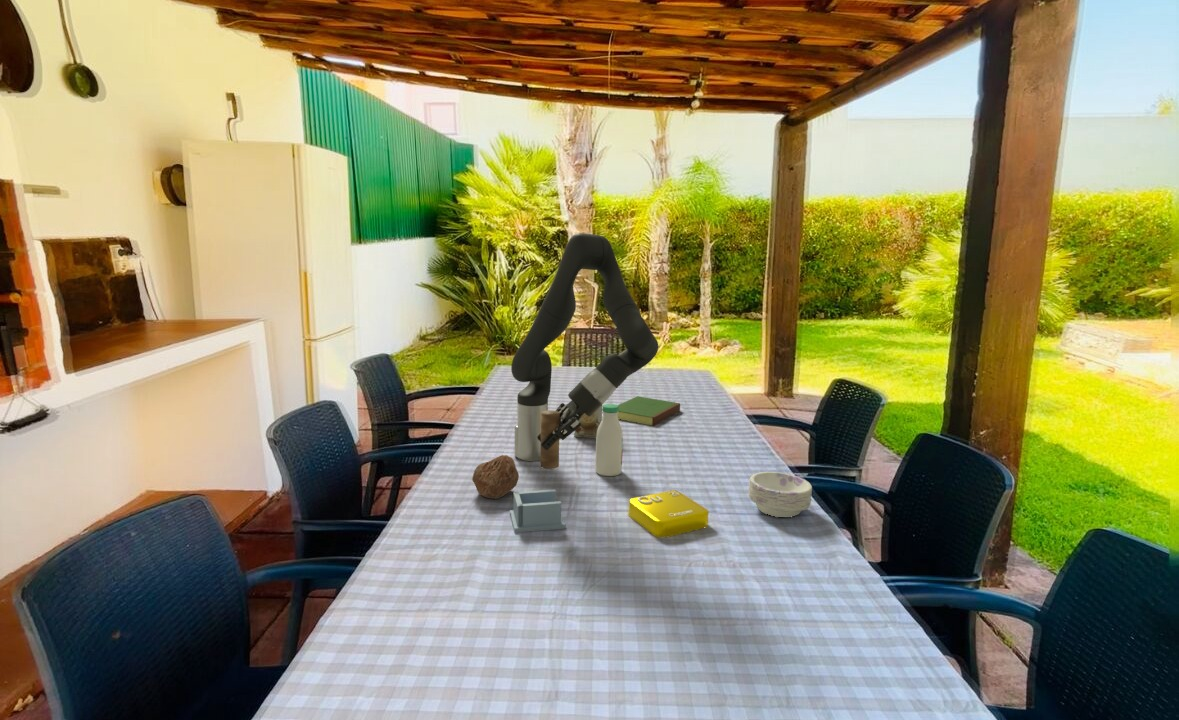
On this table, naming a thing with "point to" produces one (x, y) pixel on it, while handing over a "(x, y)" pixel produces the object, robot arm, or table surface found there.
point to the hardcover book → (647, 410)
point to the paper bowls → (779, 493)
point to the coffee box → (589, 425)
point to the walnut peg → (548, 423)
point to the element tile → (668, 513)
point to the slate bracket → (536, 511)
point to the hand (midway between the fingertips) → (541, 443)
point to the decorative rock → (496, 477)
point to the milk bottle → (609, 443)
